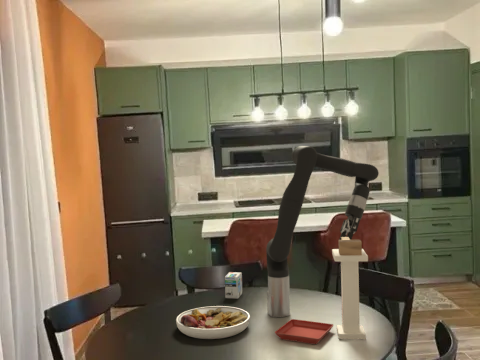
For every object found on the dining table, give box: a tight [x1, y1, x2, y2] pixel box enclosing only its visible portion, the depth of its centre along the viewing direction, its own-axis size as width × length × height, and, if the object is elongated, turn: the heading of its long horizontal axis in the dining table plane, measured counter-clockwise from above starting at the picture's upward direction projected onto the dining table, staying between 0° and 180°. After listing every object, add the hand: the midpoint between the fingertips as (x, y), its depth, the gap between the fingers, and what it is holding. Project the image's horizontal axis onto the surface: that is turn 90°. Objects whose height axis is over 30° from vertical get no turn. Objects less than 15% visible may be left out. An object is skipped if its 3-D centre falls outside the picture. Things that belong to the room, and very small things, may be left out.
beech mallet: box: [338, 236, 363, 255], centre depth 204 cm, size 23×8×5 cm, turn 174°
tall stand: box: [331, 248, 369, 340], centre depth 199 cm, size 14×12×32 cm
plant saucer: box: [274, 318, 334, 345], centre depth 201 cm, size 18×18×3 cm
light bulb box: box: [224, 271, 243, 299], centre depth 259 cm, size 11×7×11 cm, turn 168°
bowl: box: [175, 305, 251, 340], centre depth 212 cm, size 30×30×8 cm
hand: (344, 241), depth 226 cm, fingers open, 8 cm apart
